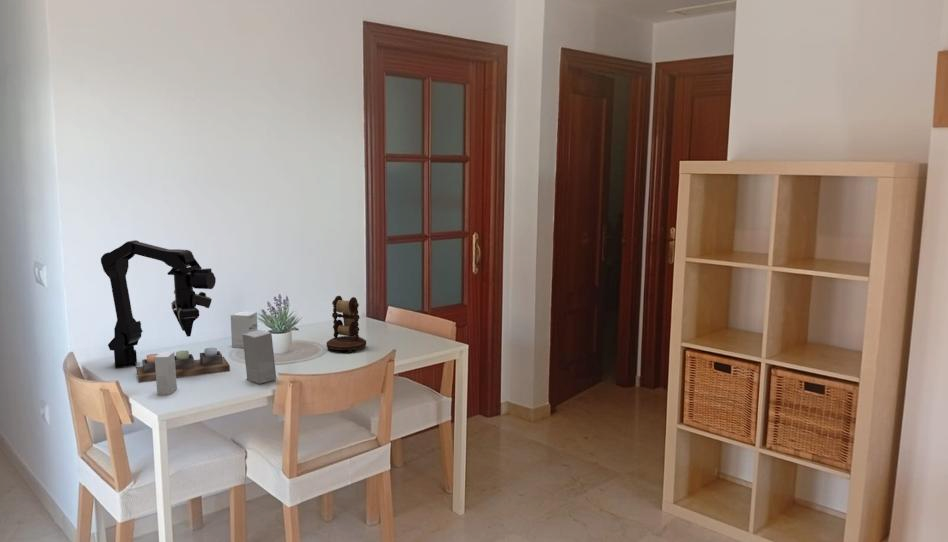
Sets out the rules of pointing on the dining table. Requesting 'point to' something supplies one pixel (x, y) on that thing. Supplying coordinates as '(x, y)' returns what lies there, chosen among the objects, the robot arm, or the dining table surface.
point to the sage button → (182, 355)
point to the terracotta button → (151, 358)
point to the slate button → (210, 351)
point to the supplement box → (242, 326)
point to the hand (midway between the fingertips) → (186, 333)
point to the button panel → (187, 367)
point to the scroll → (346, 326)
